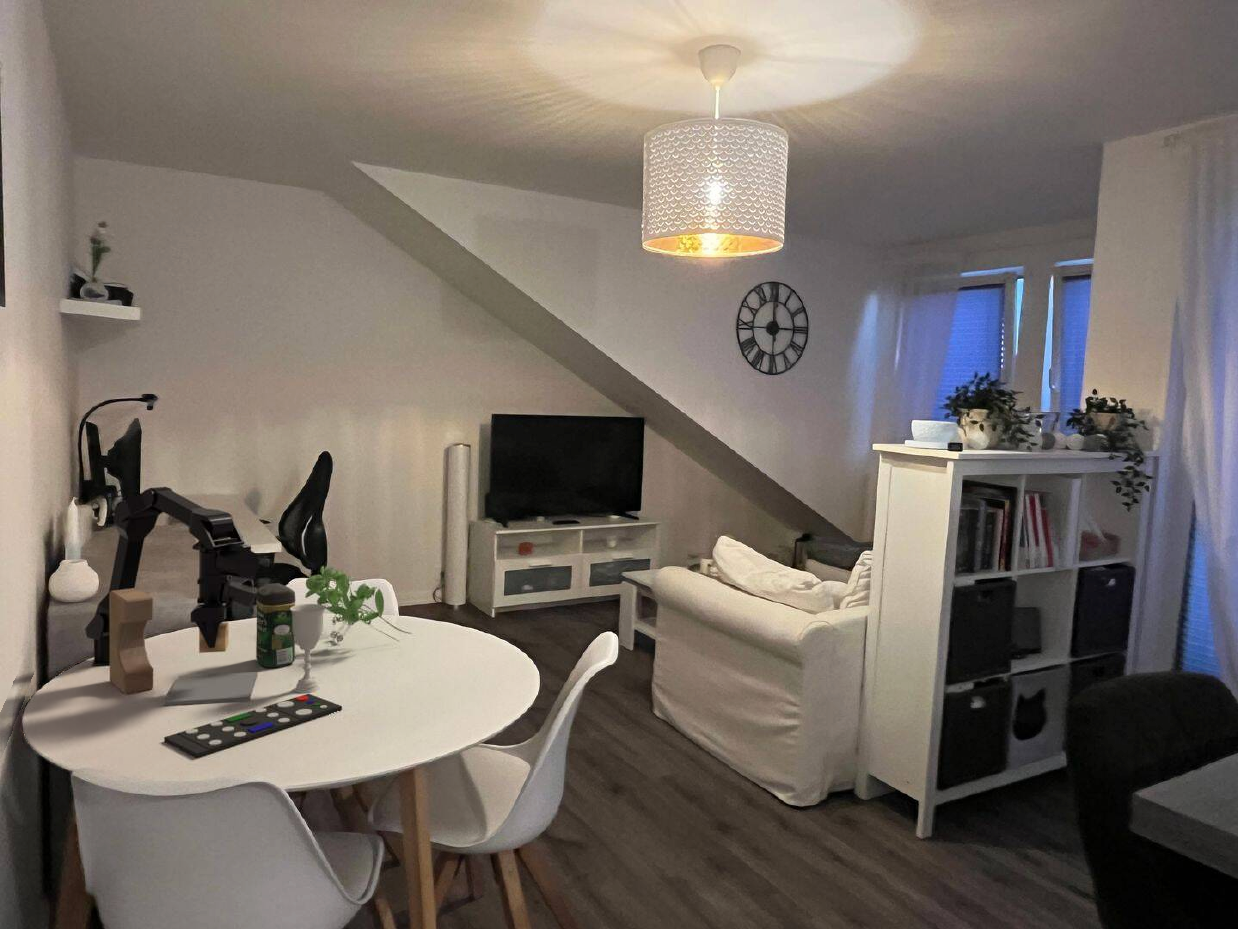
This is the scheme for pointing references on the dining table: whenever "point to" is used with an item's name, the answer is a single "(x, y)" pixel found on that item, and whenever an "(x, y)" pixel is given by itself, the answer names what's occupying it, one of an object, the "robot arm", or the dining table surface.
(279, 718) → the remote control
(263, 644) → the coffee jar
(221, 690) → the charcoal mat
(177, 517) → the robot arm
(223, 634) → the oak cube
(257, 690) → the dining table surface
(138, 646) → the decorative block
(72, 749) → the dining table surface
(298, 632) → the chalice
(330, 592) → the plant cuttings
